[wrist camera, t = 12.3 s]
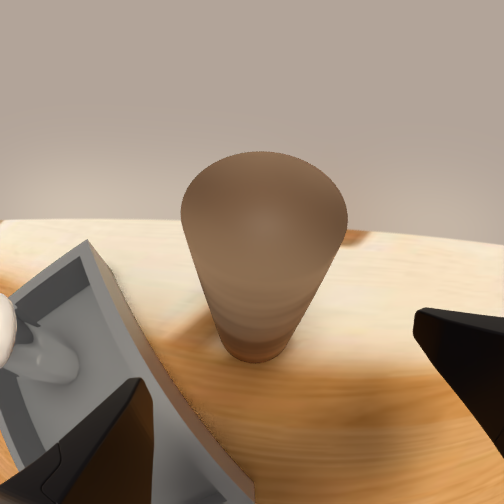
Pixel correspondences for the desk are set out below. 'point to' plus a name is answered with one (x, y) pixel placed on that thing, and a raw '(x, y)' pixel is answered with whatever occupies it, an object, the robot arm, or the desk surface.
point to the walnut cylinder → (261, 245)
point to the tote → (110, 384)
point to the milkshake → (33, 348)
